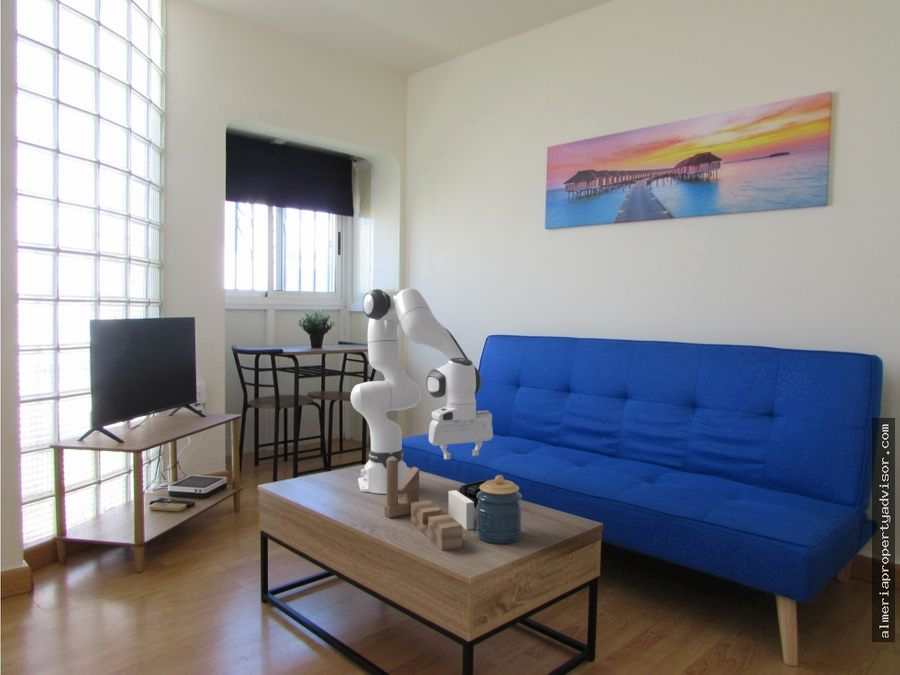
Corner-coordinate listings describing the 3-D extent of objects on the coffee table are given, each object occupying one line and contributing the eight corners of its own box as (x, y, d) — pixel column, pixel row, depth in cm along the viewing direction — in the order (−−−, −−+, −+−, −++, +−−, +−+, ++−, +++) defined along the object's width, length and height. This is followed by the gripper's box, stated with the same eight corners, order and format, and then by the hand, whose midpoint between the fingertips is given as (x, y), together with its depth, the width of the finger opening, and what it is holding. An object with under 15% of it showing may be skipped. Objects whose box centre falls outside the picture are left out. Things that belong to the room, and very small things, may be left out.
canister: (468, 531, 181) (468, 472, 180) (507, 525, 186) (508, 467, 185) (489, 547, 169) (489, 483, 168) (530, 540, 174) (530, 478, 173)
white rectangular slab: (448, 516, 194) (448, 491, 194) (455, 515, 195) (455, 490, 195) (466, 530, 182) (466, 503, 182) (473, 528, 183) (474, 502, 183)
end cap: (480, 497, 214) (480, 477, 213) (495, 502, 208) (495, 482, 208) (458, 503, 207) (458, 483, 207) (473, 508, 202) (473, 487, 201)
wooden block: (419, 512, 197) (419, 456, 196) (389, 518, 191) (389, 461, 190) (413, 509, 200) (413, 454, 199) (384, 515, 194) (383, 458, 193)
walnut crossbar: (410, 521, 189) (410, 502, 188) (429, 519, 191) (429, 500, 191) (441, 550, 167) (441, 528, 166) (462, 547, 169) (462, 525, 169)
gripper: (487, 408, 194) (487, 452, 195) (426, 412, 186) (426, 458, 186) (496, 411, 188) (496, 456, 189) (434, 415, 180) (434, 463, 181)
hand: (461, 457), depth 188 cm, fingers open, 8 cm apart
